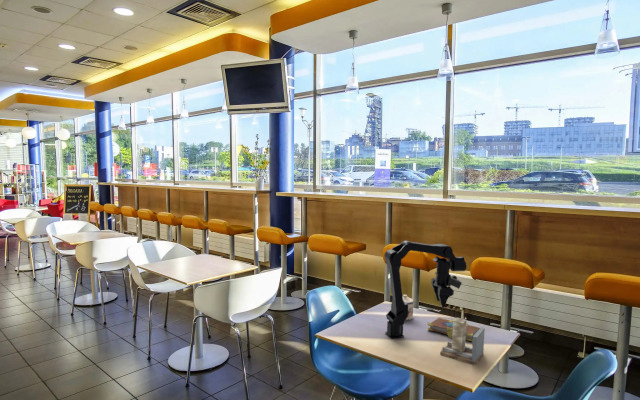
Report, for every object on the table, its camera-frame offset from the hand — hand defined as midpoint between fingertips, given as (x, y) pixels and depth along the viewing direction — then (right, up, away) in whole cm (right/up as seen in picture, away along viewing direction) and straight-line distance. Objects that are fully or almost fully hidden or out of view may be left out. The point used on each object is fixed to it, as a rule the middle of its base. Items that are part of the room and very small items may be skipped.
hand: (440, 304), depth 186 cm
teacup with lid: (-12, -12, +22) cm, 28 cm away
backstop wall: (+7, -15, -25) cm, 30 cm away
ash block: (+1, -14, -20) cm, 25 cm away
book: (+5, -14, +3) cm, 16 cm away
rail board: (+2, -15, -21) cm, 26 cm away
